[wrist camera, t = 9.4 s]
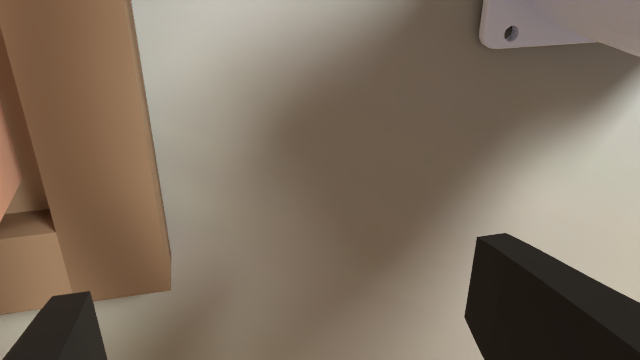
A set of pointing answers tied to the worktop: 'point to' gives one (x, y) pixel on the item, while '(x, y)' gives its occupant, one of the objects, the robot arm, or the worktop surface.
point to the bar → (7, 166)
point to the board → (78, 156)
